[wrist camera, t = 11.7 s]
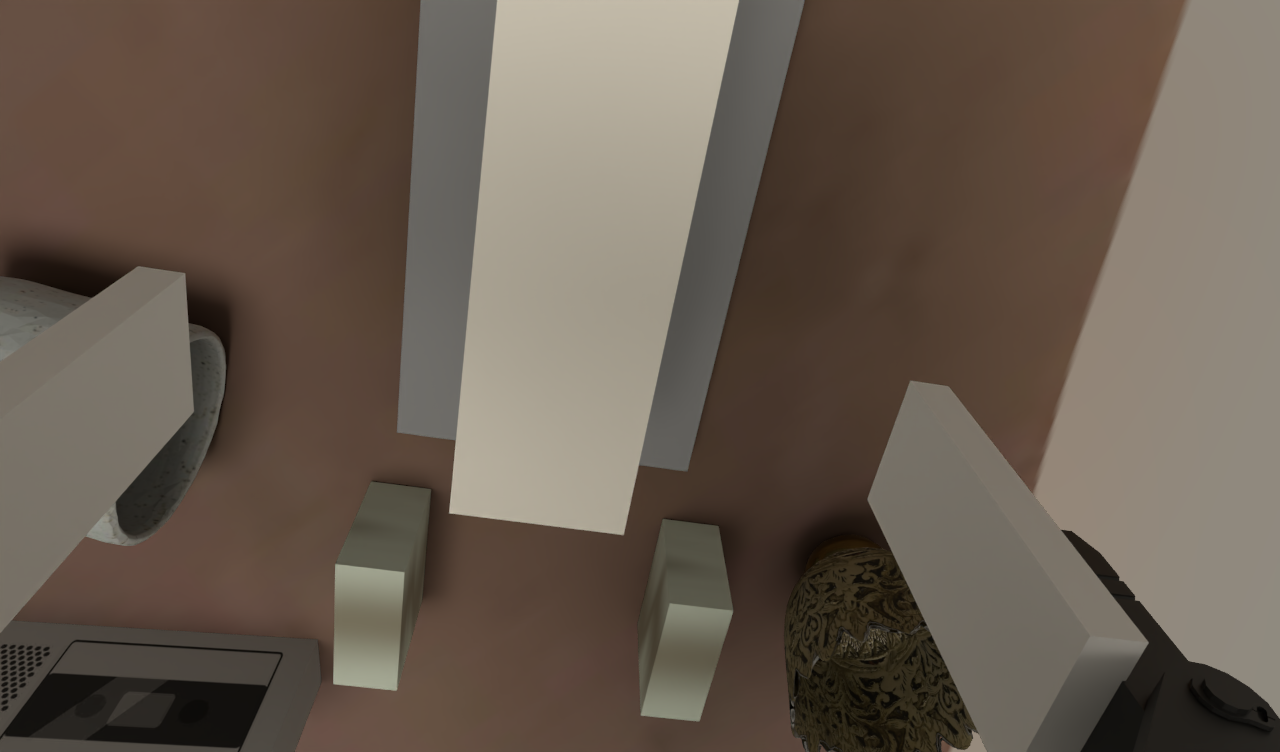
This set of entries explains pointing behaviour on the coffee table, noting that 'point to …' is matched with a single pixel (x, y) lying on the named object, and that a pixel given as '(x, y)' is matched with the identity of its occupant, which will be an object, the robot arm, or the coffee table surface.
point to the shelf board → (580, 248)
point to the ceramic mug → (25, 309)
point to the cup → (866, 658)
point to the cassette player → (152, 690)
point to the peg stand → (449, 204)
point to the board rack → (393, 590)
